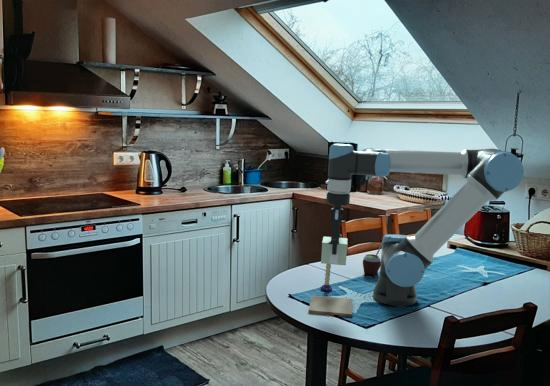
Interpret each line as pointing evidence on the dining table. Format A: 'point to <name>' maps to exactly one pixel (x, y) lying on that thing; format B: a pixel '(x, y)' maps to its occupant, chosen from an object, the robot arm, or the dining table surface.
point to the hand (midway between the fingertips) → (333, 259)
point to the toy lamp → (327, 279)
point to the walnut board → (330, 306)
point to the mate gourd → (371, 264)
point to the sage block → (341, 254)
